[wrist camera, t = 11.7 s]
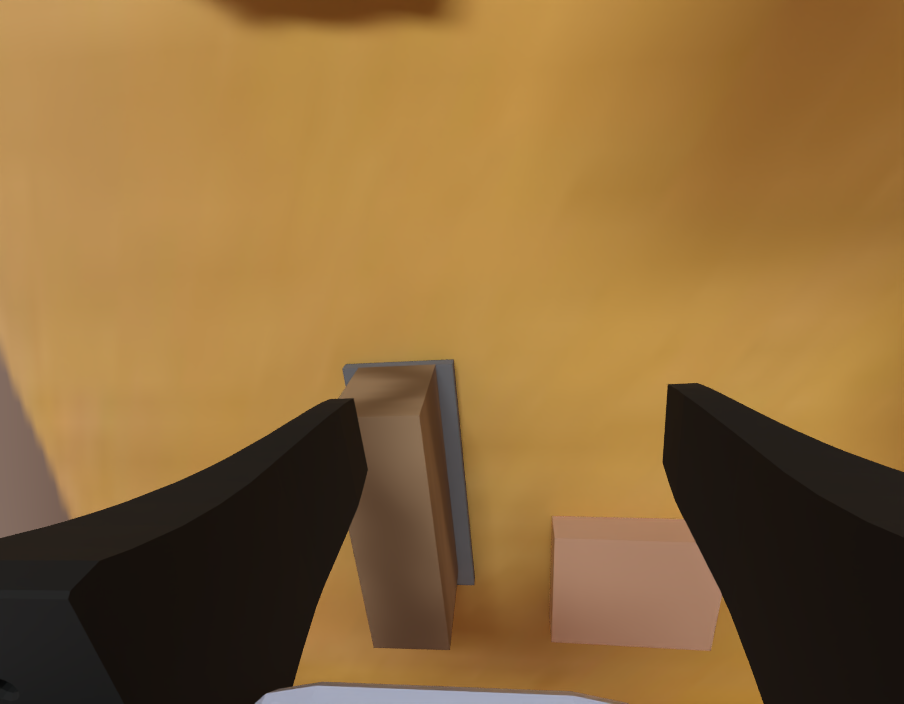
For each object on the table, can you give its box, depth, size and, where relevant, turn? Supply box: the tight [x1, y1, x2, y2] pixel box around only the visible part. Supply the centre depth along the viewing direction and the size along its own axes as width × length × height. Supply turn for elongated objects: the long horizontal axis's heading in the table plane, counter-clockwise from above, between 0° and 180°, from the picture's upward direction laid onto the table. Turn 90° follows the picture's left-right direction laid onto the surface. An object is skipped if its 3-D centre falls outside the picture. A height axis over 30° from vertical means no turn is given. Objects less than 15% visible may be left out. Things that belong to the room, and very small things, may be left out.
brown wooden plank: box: [338, 364, 458, 650], centre depth 22 cm, size 4×12×4 cm, turn 5°
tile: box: [549, 516, 722, 651], centre depth 25 cm, size 8×2×7 cm
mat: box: [343, 360, 475, 585], centre depth 25 cm, size 5×13×1 cm, turn 5°
